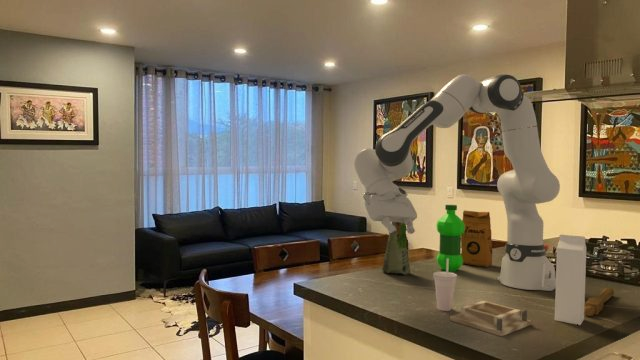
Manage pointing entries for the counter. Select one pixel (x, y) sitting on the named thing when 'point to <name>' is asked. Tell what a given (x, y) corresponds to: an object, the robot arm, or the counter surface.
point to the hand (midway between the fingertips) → (402, 232)
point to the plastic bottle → (450, 239)
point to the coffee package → (476, 239)
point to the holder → (492, 318)
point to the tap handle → (597, 302)
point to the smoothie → (444, 288)
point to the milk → (570, 279)
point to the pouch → (397, 251)
